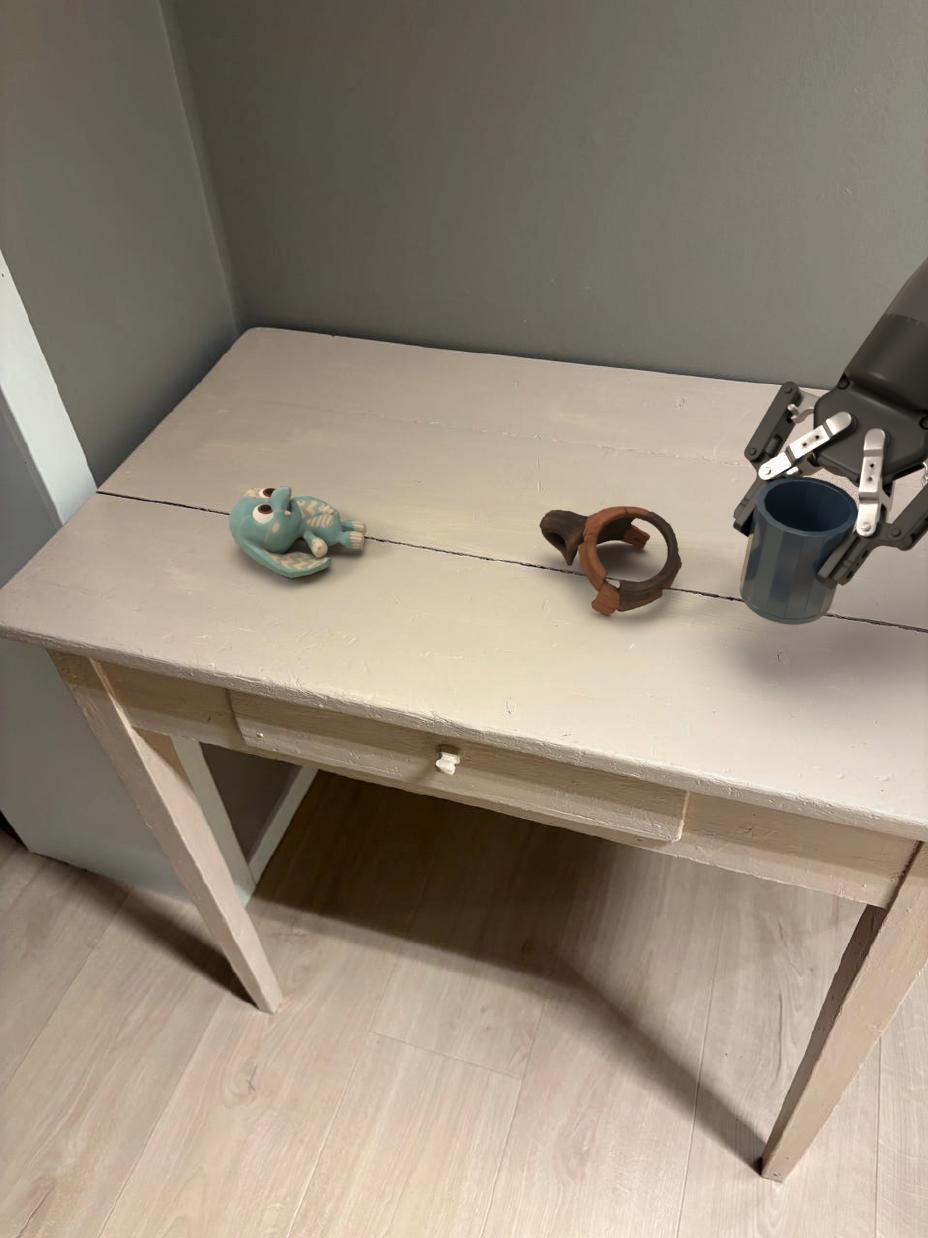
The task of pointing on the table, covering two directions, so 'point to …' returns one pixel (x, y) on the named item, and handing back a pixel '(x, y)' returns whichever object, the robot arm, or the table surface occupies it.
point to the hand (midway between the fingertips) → (781, 557)
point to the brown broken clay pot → (601, 527)
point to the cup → (794, 548)
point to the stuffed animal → (290, 530)
